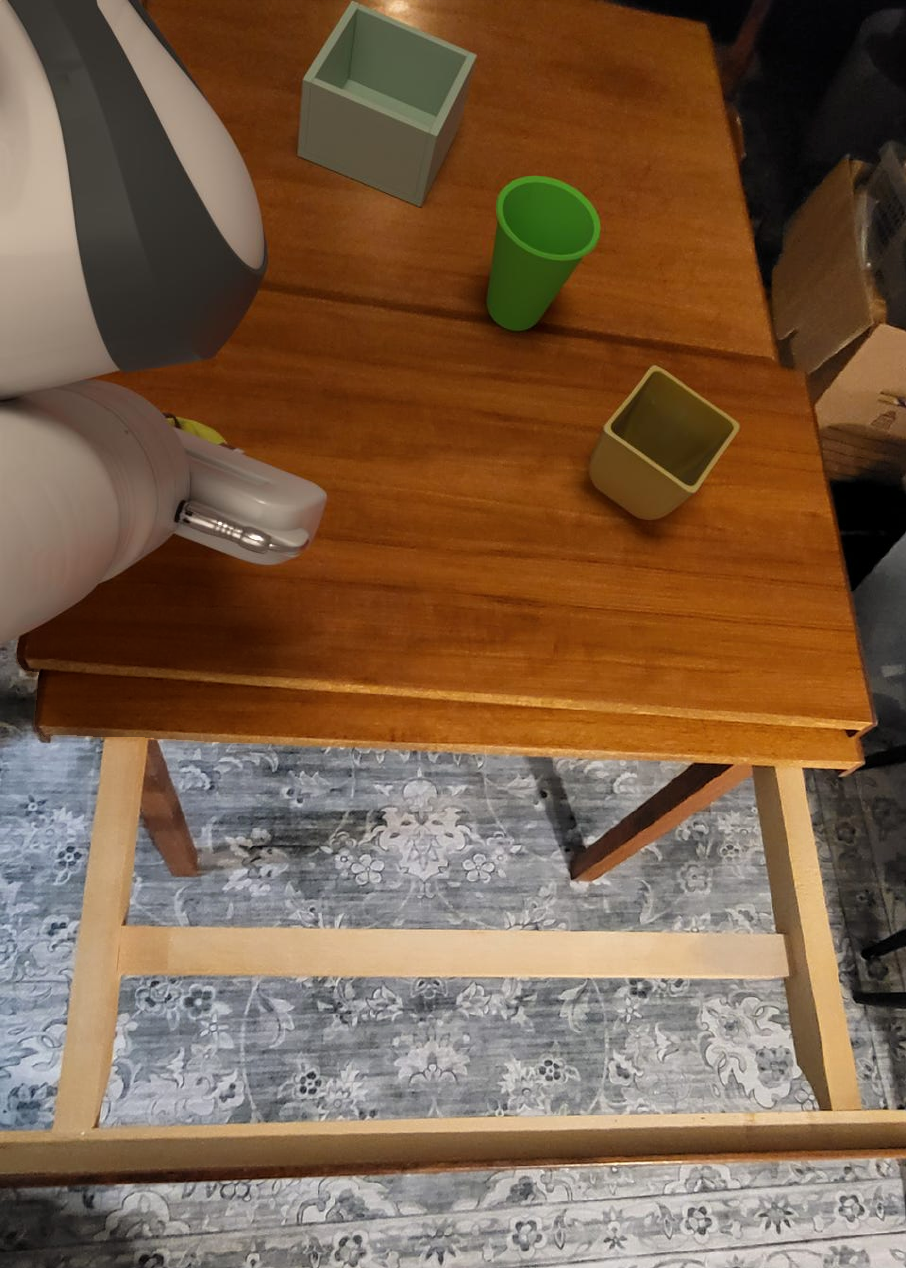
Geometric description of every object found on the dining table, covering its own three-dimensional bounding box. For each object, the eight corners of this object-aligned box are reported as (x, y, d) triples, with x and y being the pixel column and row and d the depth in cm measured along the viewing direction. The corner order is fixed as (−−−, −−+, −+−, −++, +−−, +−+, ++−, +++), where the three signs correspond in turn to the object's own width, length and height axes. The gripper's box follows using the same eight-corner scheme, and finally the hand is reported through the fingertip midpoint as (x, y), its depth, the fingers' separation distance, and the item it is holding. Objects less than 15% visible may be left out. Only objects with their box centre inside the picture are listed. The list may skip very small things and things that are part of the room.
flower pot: (646, 549, 76) (694, 494, 68) (563, 489, 77) (602, 427, 69) (691, 484, 80) (743, 424, 72) (612, 427, 81) (654, 361, 73)
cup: (480, 352, 81) (515, 260, 71) (454, 274, 84) (483, 174, 74) (570, 345, 83) (615, 255, 73) (542, 270, 86) (581, 173, 76)
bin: (297, 155, 85) (302, 78, 78) (342, 78, 91) (351, -1, 84) (420, 207, 86) (437, 136, 79) (458, 128, 91) (477, 54, 84)
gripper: (316, 499, 42) (358, 456, 55) (-112, 329, 40) (37, 326, 53) (275, 617, 44) (325, 548, 57) (-133, 460, 42) (15, 426, 55)
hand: (183, 440), depth 55 cm, fingers closed on fruit, 5 cm apart
